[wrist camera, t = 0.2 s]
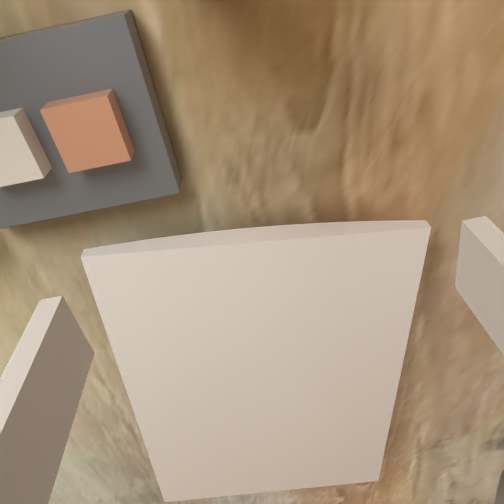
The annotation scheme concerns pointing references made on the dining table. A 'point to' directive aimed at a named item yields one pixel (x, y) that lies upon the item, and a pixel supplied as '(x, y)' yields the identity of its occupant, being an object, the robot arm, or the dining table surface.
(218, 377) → the board
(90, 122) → the tile terracotta
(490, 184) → the dining table surface
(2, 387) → the robot arm
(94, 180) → the slate board
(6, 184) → the tile white
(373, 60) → the dining table surface
